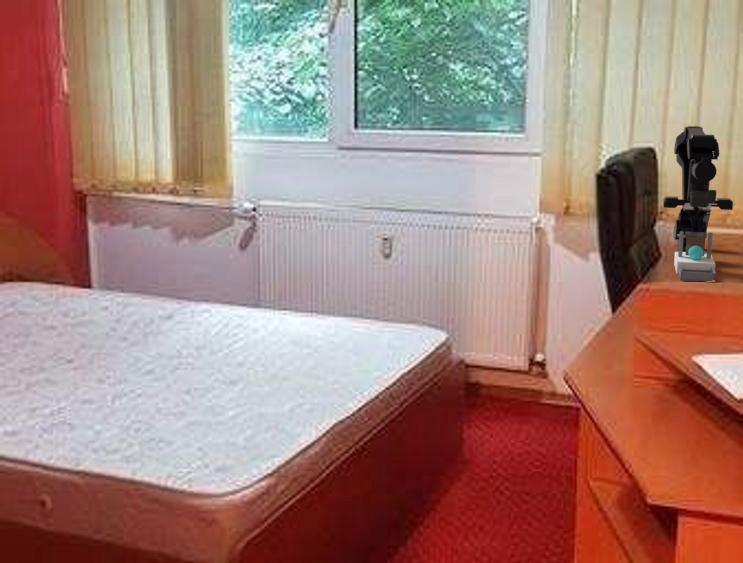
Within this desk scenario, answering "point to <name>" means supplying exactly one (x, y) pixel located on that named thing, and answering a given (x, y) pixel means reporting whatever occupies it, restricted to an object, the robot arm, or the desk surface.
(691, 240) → the lever
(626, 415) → the desk surface
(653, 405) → the desk surface
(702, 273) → the tray
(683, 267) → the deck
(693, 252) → the ball
